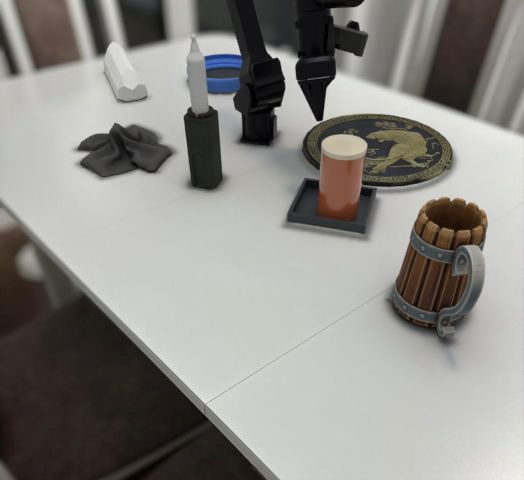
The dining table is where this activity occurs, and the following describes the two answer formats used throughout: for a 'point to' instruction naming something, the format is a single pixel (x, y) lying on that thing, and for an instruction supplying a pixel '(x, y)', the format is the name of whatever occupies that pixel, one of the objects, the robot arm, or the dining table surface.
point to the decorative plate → (387, 148)
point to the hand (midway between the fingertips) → (319, 114)
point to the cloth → (123, 150)
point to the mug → (442, 265)
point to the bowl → (222, 72)
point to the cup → (341, 176)
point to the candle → (201, 126)
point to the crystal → (123, 74)
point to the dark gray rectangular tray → (307, 214)
